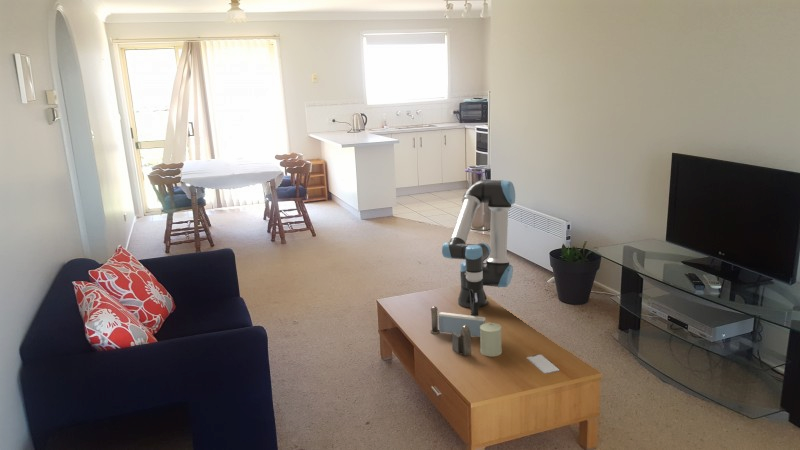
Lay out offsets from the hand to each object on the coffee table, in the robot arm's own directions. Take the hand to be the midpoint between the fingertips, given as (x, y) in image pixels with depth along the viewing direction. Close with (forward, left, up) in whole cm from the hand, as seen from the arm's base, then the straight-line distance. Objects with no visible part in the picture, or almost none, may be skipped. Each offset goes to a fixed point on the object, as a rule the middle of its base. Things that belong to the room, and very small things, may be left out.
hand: (474, 327), depth 268 cm
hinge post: (+15, -11, -3) cm, 19 cm away
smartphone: (-6, +40, -3) cm, 40 cm away
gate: (+6, -1, -2) cm, 7 cm away
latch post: (+15, +13, -3) cm, 20 cm away
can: (+5, +19, -3) cm, 20 cm away
